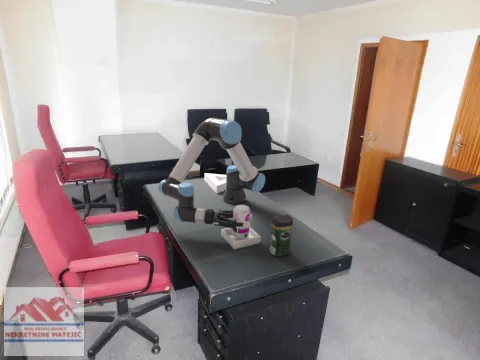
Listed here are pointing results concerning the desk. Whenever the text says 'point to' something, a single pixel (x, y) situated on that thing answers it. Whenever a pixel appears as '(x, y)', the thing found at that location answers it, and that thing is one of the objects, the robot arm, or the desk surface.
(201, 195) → the desk surface
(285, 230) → the coffee jar
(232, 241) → the tray
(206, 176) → the triangle block
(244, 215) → the supplement can
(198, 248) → the desk surface
